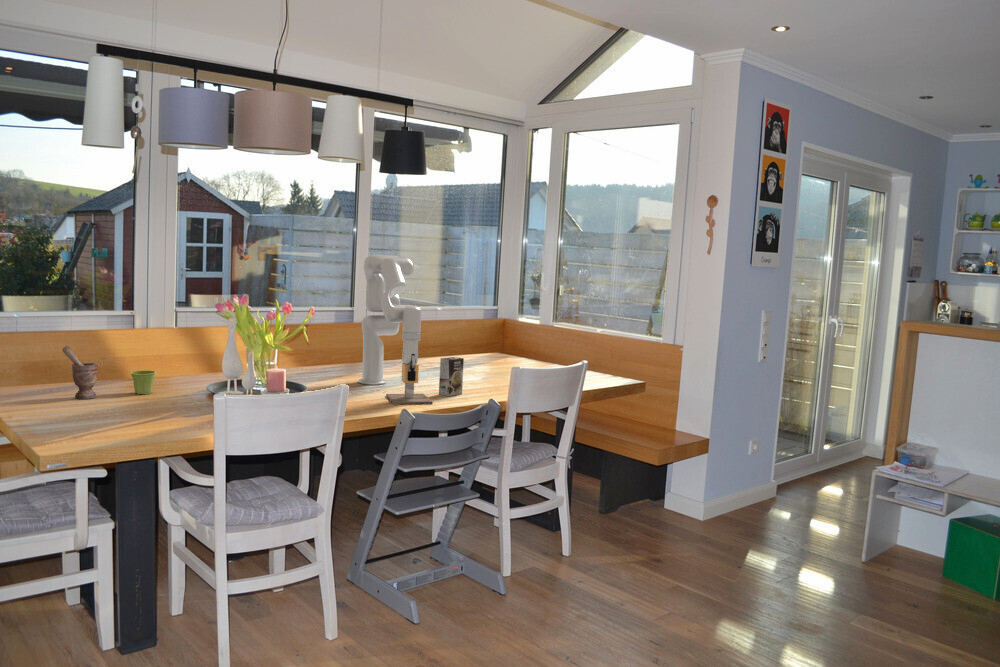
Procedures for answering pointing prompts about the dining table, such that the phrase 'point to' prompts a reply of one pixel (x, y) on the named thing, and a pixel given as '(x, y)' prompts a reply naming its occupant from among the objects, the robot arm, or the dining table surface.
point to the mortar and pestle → (82, 375)
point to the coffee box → (451, 376)
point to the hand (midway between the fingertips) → (409, 379)
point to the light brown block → (405, 373)
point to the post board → (409, 401)
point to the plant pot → (143, 381)
